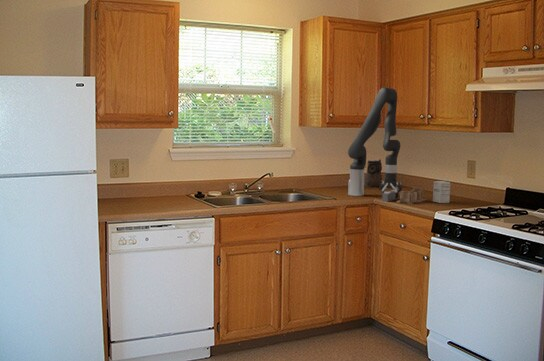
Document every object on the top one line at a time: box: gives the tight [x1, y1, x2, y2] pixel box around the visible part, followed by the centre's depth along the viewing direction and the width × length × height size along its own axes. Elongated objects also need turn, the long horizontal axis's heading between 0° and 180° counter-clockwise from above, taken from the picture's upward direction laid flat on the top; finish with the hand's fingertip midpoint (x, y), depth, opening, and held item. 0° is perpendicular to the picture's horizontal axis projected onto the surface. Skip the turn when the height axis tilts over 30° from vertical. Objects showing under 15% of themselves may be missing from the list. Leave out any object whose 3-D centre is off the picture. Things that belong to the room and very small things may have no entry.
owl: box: [364, 159, 383, 189], centre depth 465 cm, size 13×13×20 cm
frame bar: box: [381, 189, 399, 202], centre depth 398 cm, size 4×14×6 cm, turn 143°
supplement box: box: [432, 180, 451, 204], centre depth 391 cm, size 7×7×13 cm
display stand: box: [396, 187, 427, 205], centre depth 393 cm, size 10×20×7 cm, turn 143°
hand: (390, 197), depth 398 cm, fingers open, 8 cm apart
